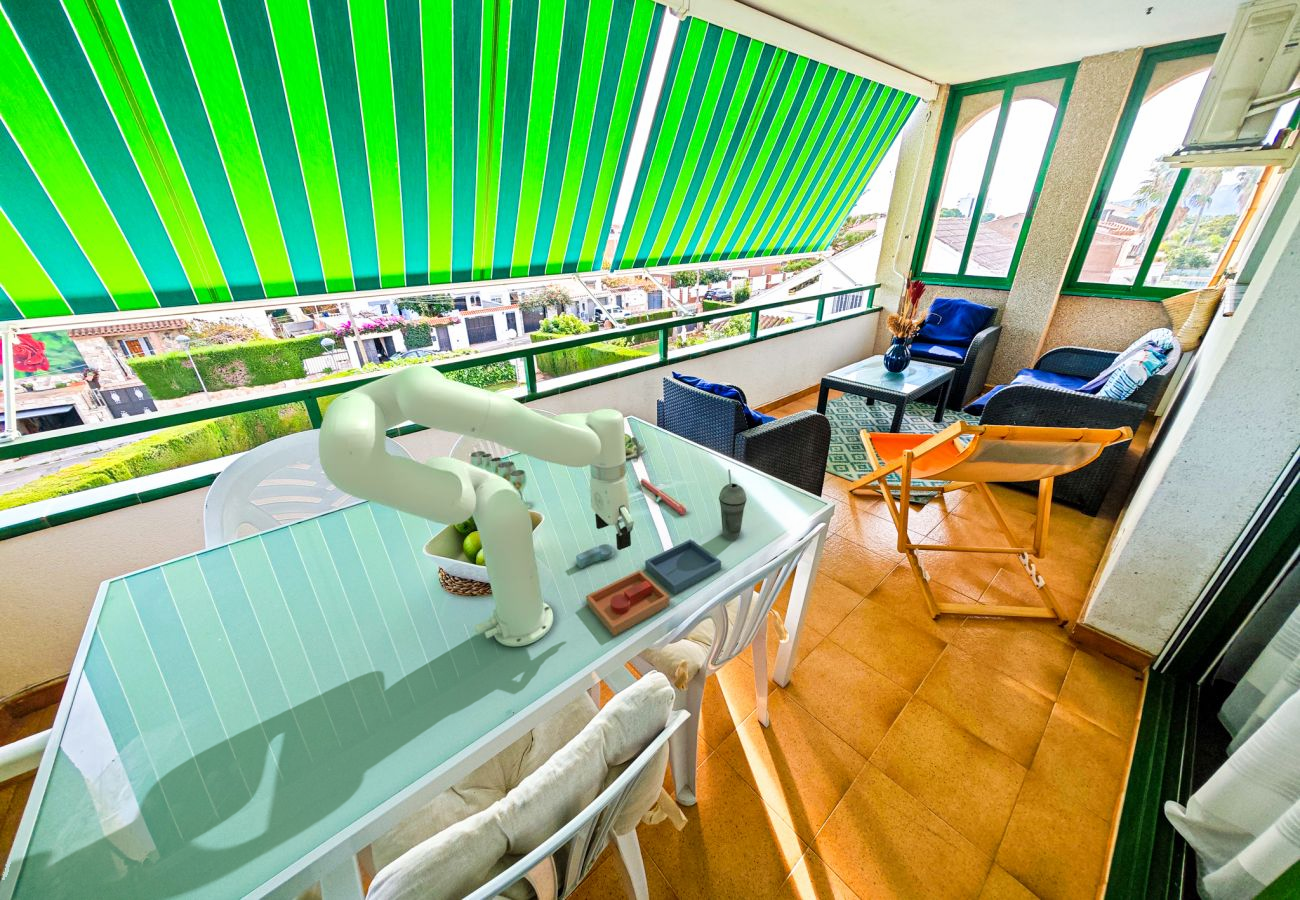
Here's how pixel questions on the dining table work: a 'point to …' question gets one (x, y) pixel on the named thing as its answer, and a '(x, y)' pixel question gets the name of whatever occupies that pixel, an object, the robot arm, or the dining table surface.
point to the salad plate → (633, 447)
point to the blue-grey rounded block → (594, 555)
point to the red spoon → (630, 598)
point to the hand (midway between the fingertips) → (613, 536)
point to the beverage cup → (732, 509)
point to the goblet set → (501, 470)
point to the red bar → (665, 497)
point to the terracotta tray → (637, 612)
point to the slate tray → (682, 566)
